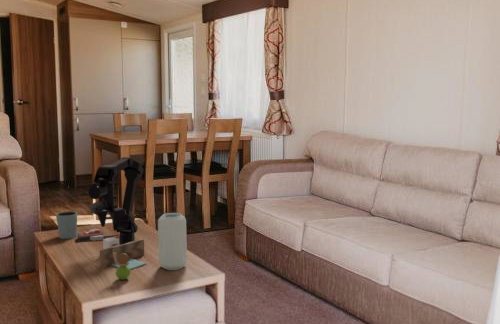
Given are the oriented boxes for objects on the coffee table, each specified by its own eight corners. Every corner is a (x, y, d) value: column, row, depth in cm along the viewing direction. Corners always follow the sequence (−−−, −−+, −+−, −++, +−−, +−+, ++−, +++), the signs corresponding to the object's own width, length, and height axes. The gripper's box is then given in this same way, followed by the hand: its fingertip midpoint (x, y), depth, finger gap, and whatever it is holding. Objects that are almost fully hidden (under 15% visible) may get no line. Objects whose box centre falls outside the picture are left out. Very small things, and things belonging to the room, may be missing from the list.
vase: (186, 261, 217) (185, 211, 214) (187, 271, 206) (186, 217, 203) (159, 263, 215) (157, 212, 212) (158, 272, 204) (157, 218, 201)
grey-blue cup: (74, 239, 250) (72, 215, 248) (53, 239, 250) (52, 215, 248) (81, 233, 260) (80, 211, 258) (61, 233, 260) (60, 210, 258)
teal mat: (131, 259, 220) (131, 258, 220) (146, 264, 213) (146, 263, 213) (112, 265, 212) (112, 264, 212) (127, 270, 206) (127, 269, 206)
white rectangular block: (113, 251, 230) (112, 237, 230) (119, 254, 227) (119, 239, 226) (103, 254, 227) (103, 239, 226) (110, 256, 224) (109, 241, 223)
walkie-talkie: (78, 243, 244) (119, 238, 253) (77, 235, 243) (119, 229, 252) (75, 239, 252) (115, 234, 261) (74, 230, 251) (115, 225, 260)
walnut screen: (142, 253, 227) (141, 238, 227) (144, 254, 227) (143, 239, 226) (100, 266, 211) (99, 250, 210) (102, 267, 210) (101, 251, 209)
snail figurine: (114, 277, 199) (113, 247, 197) (131, 276, 199) (130, 247, 198) (112, 282, 194) (111, 251, 192) (129, 281, 194) (128, 251, 193)
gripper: (79, 194, 223) (81, 228, 225) (103, 200, 211) (105, 236, 213) (101, 190, 231) (103, 223, 234) (125, 196, 219) (127, 230, 222)
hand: (109, 228), depth 225 cm, fingers open, 9 cm apart
